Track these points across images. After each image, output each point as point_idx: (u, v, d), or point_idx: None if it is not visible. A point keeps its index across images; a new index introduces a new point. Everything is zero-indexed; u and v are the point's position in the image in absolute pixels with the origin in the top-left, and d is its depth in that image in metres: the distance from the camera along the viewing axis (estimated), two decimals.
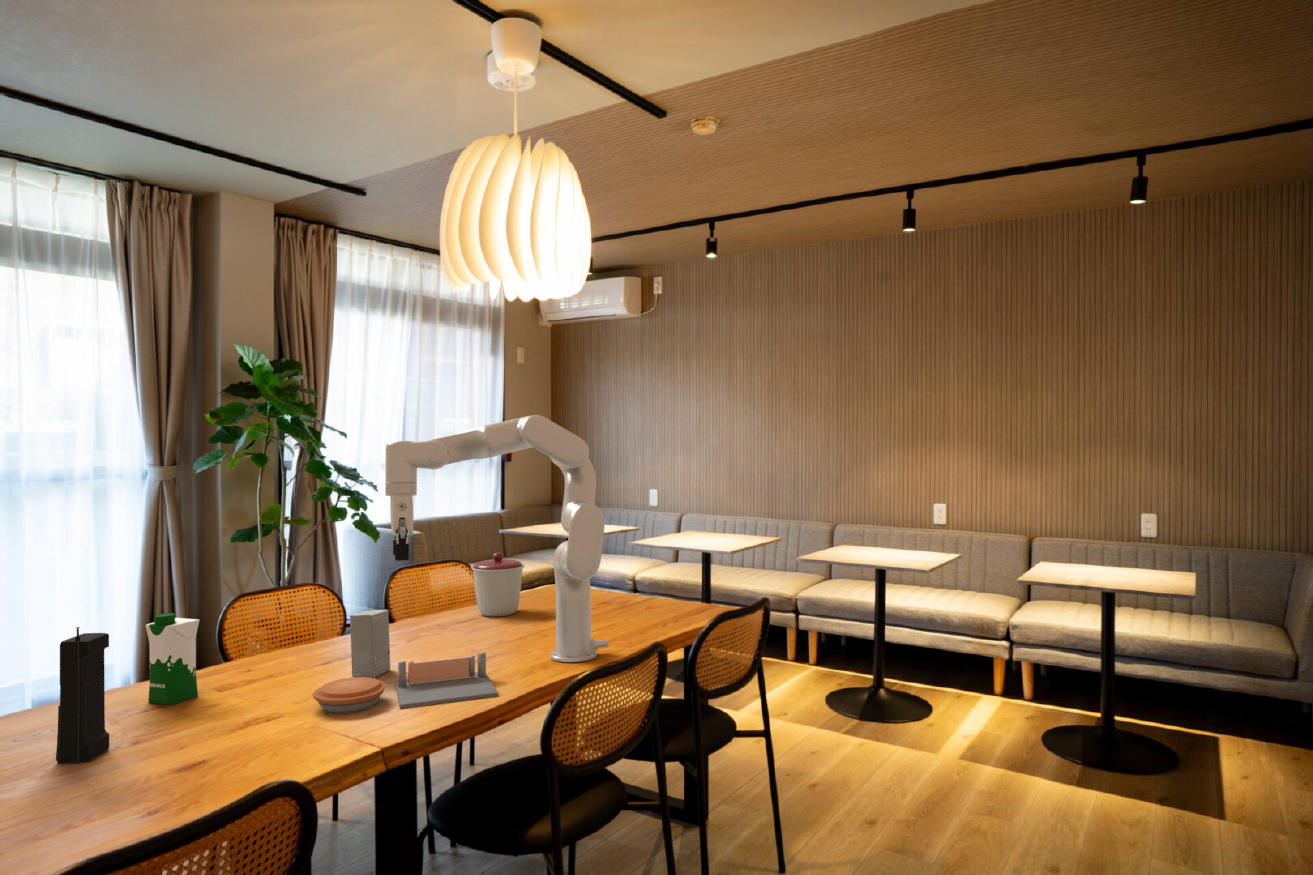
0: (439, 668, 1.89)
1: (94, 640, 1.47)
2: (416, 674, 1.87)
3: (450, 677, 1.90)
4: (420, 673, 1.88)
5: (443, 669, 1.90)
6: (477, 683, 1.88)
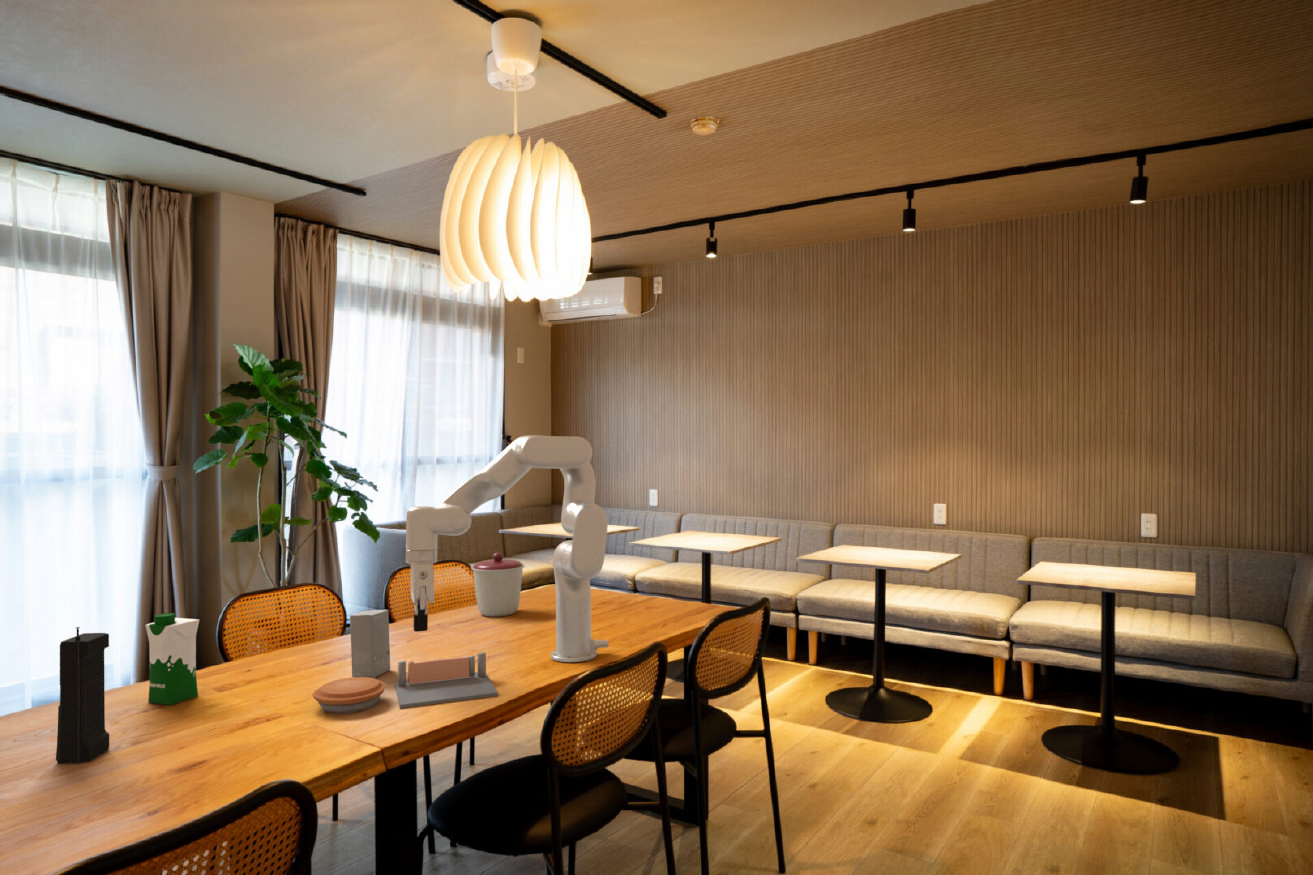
0: (439, 668, 1.89)
1: (94, 640, 1.47)
2: (416, 674, 1.87)
3: (450, 677, 1.90)
4: (420, 673, 1.88)
5: (443, 669, 1.90)
6: (477, 683, 1.88)
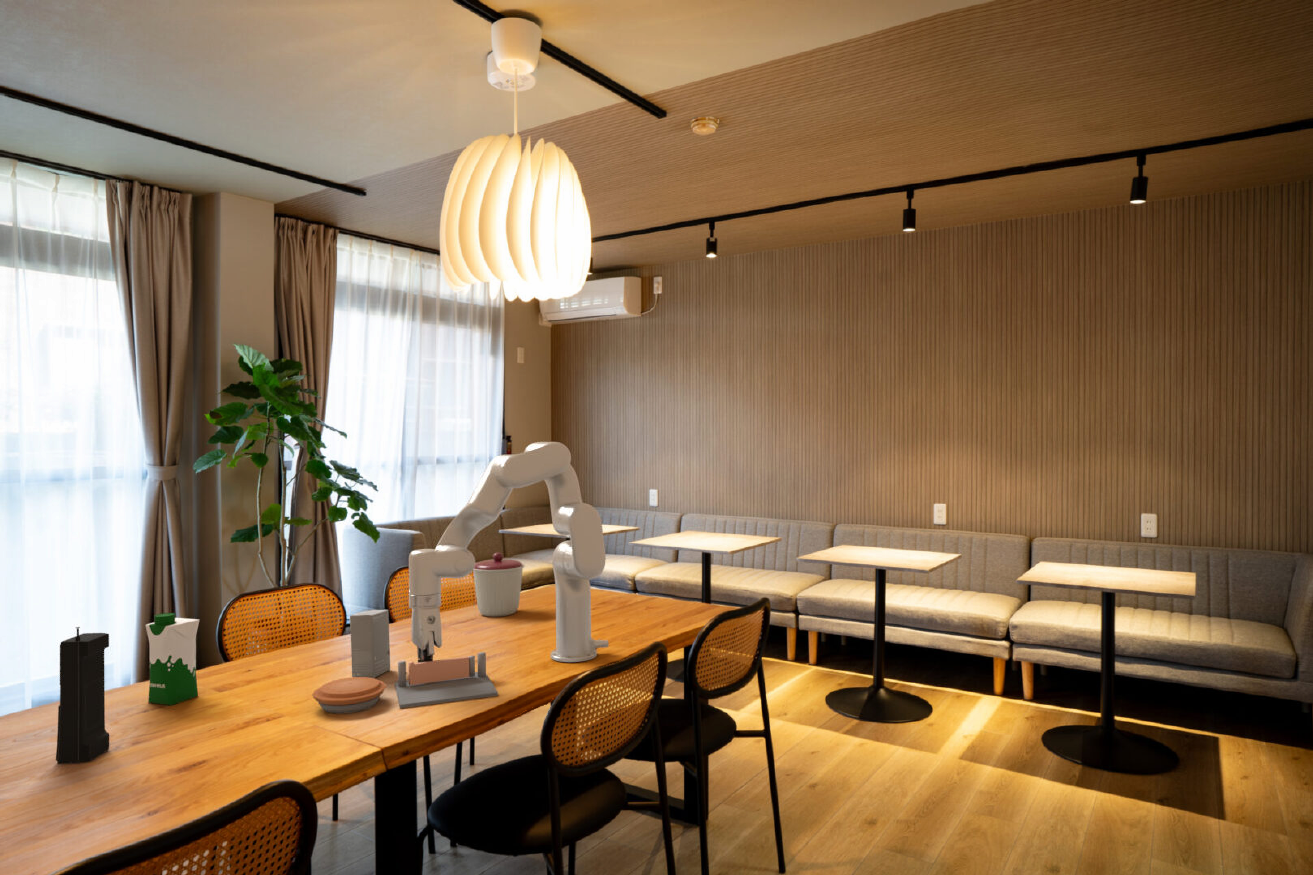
0: (439, 668, 1.89)
1: (94, 640, 1.47)
2: (417, 675, 1.86)
3: (450, 677, 1.90)
4: (421, 674, 1.87)
5: (443, 669, 1.89)
6: (477, 683, 1.88)
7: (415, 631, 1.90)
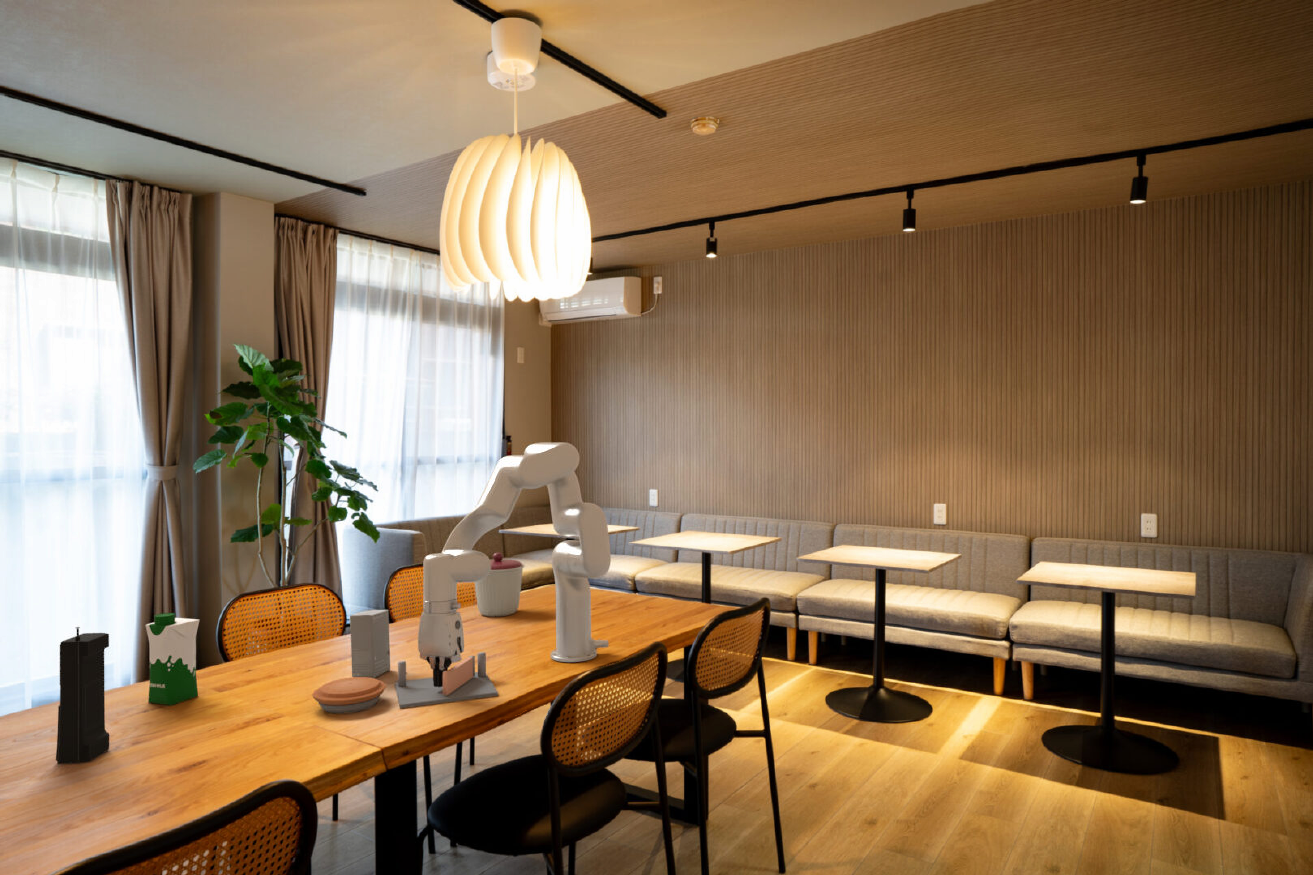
0: (460, 673, 1.85)
1: (94, 640, 1.47)
2: (450, 683, 1.80)
3: (465, 680, 1.87)
4: (452, 681, 1.80)
5: (462, 673, 1.86)
6: (477, 683, 1.88)
7: (434, 640, 1.81)
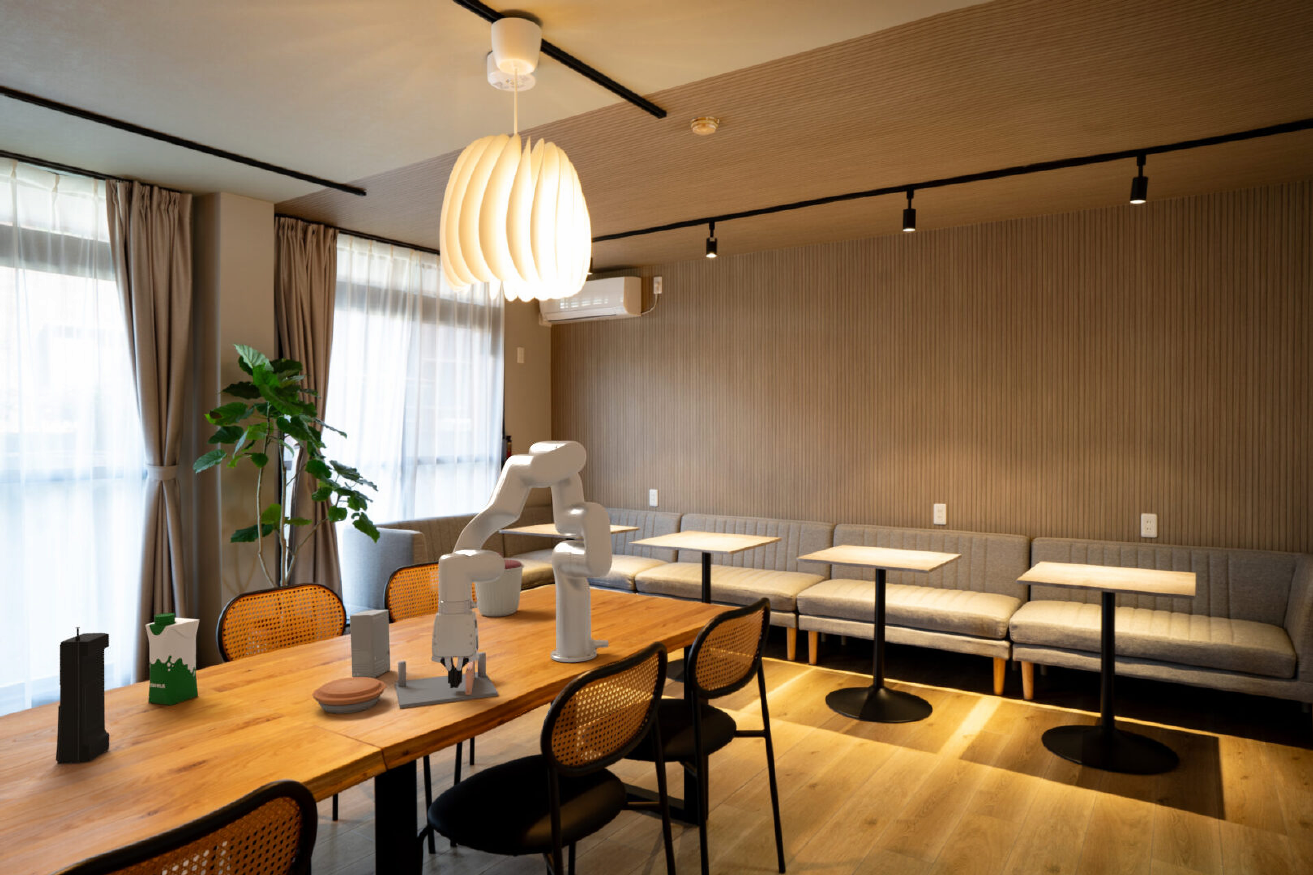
0: (472, 672, 1.85)
1: (94, 640, 1.47)
2: (471, 683, 1.80)
3: (473, 680, 1.88)
4: (471, 681, 1.81)
5: None
6: (477, 683, 1.88)
7: (453, 640, 1.79)
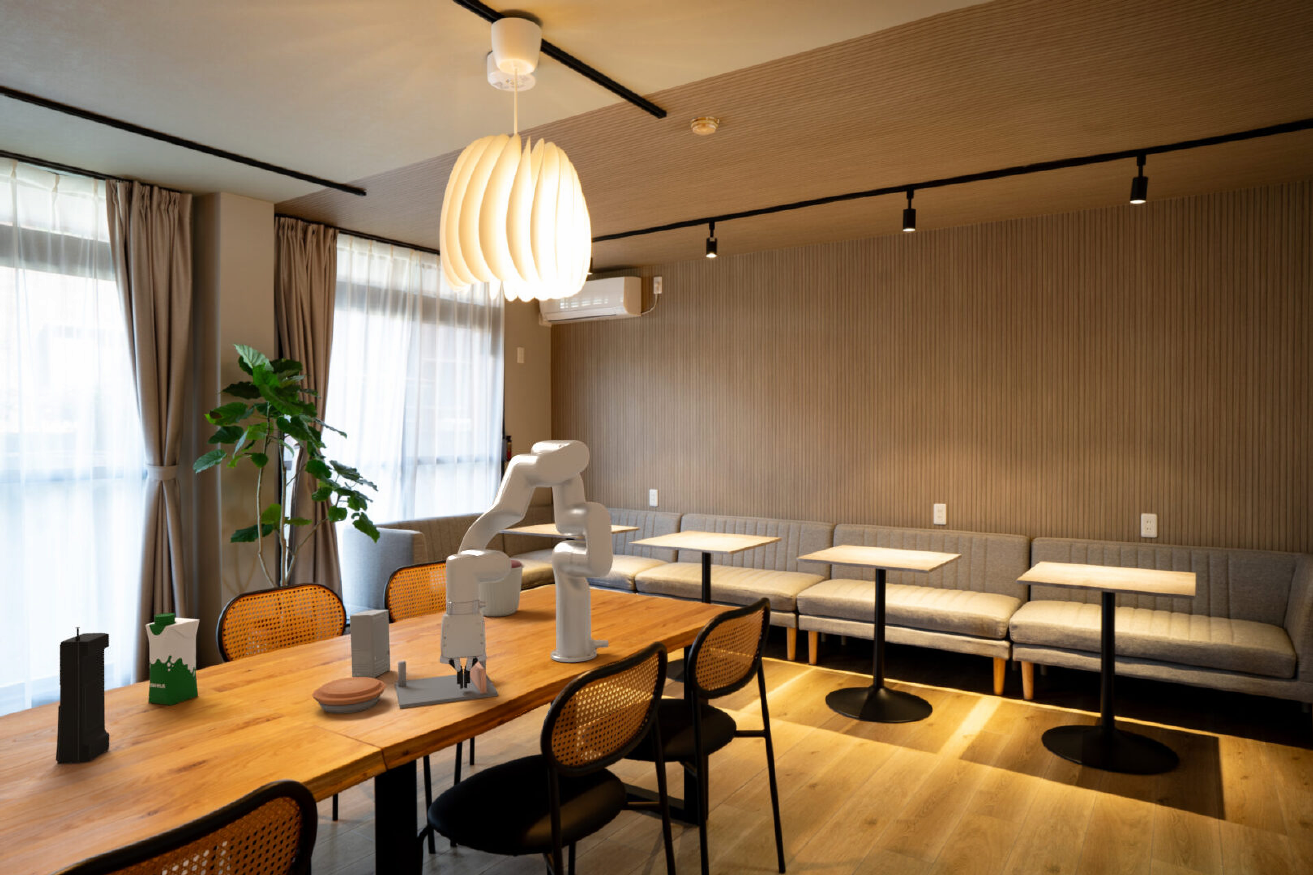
0: None
1: (94, 640, 1.47)
2: None
3: None
4: None
5: None
6: None
7: (464, 641, 1.79)
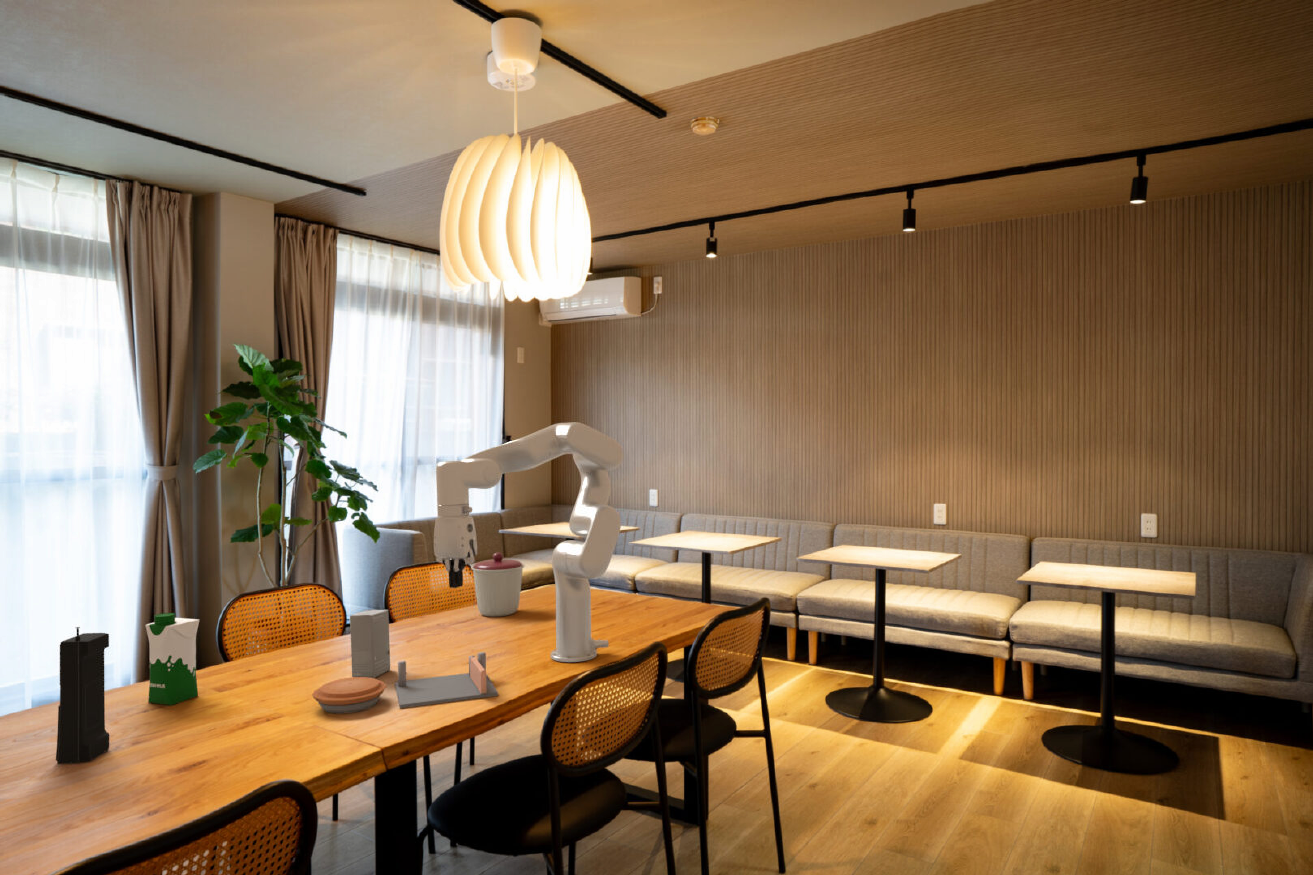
0: None
1: (94, 640, 1.47)
2: None
3: None
4: None
5: None
6: None
7: (448, 542, 1.88)
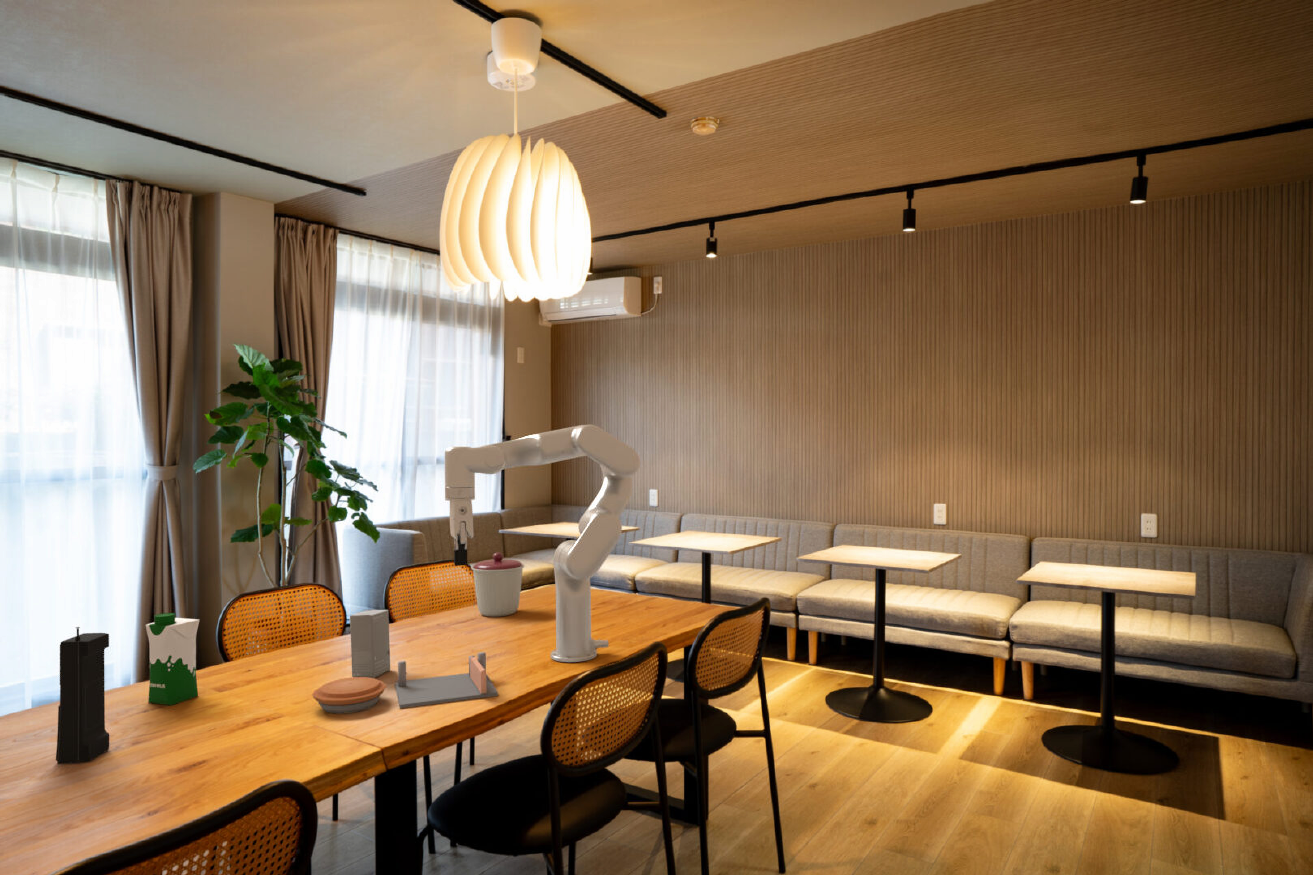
0: None
1: (94, 640, 1.47)
2: None
3: None
4: None
5: None
6: None
7: (450, 522, 2.02)
